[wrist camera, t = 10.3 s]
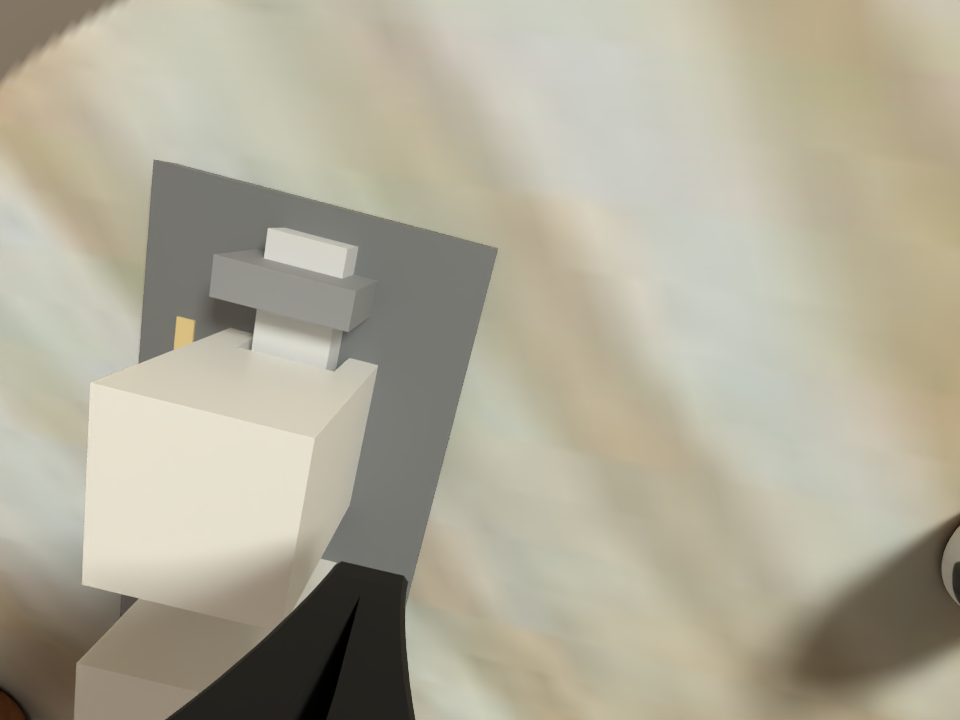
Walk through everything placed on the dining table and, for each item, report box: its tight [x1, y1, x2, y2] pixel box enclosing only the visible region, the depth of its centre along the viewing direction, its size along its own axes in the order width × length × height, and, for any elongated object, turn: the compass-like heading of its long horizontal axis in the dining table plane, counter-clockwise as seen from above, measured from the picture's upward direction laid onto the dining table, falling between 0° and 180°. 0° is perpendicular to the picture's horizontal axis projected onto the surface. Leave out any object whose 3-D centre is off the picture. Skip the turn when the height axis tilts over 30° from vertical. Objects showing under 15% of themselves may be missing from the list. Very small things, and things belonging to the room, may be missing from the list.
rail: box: [74, 160, 498, 720], centre depth 16 cm, size 22×11×7 cm, turn 166°
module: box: [82, 328, 378, 630], centre depth 15 cm, size 6×5×6 cm
